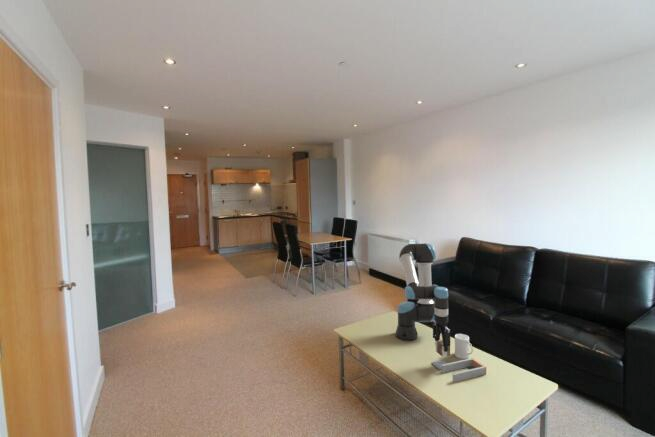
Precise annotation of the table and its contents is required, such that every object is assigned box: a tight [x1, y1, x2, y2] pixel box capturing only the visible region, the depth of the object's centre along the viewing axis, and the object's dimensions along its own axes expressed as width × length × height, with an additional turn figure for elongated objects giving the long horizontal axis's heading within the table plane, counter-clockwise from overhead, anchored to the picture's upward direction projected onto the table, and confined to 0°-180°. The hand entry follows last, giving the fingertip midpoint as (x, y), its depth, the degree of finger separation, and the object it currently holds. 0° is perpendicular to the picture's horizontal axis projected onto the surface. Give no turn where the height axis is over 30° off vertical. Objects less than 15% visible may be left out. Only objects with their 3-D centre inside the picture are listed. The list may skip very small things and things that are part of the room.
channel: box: [440, 357, 487, 383], centre depth 175 cm, size 10×21×4 cm, turn 108°
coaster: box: [430, 359, 448, 371], centre depth 183 cm, size 8×8×1 cm
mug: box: [454, 333, 474, 360], centre depth 192 cm, size 12×8×12 cm
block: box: [436, 339, 451, 357], centre depth 183 cm, size 5×5×7 cm
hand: (441, 353), depth 182 cm, fingers closed on block, 5 cm apart
